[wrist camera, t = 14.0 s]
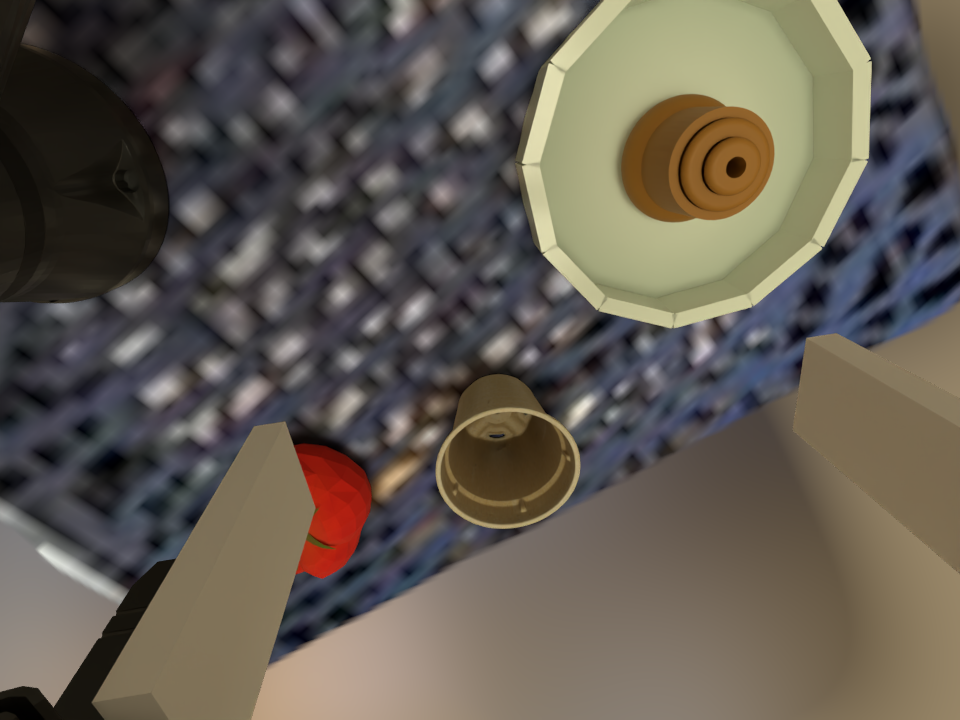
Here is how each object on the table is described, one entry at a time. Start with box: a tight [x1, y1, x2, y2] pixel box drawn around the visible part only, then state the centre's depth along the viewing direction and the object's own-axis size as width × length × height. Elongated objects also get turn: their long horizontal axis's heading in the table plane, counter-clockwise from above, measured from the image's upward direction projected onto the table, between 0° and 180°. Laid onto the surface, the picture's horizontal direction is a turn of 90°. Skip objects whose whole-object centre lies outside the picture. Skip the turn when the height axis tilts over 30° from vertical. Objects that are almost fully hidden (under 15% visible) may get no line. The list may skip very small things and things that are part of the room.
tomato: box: [294, 443, 372, 579], centre depth 40 cm, size 10×11×6 cm
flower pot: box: [436, 374, 580, 529], centre depth 37 cm, size 9×9×9 cm
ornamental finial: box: [621, 94, 775, 223], centre depth 30 cm, size 8×8×8 cm
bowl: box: [515, 0, 872, 328], centre depth 32 cm, size 20×20×4 cm
